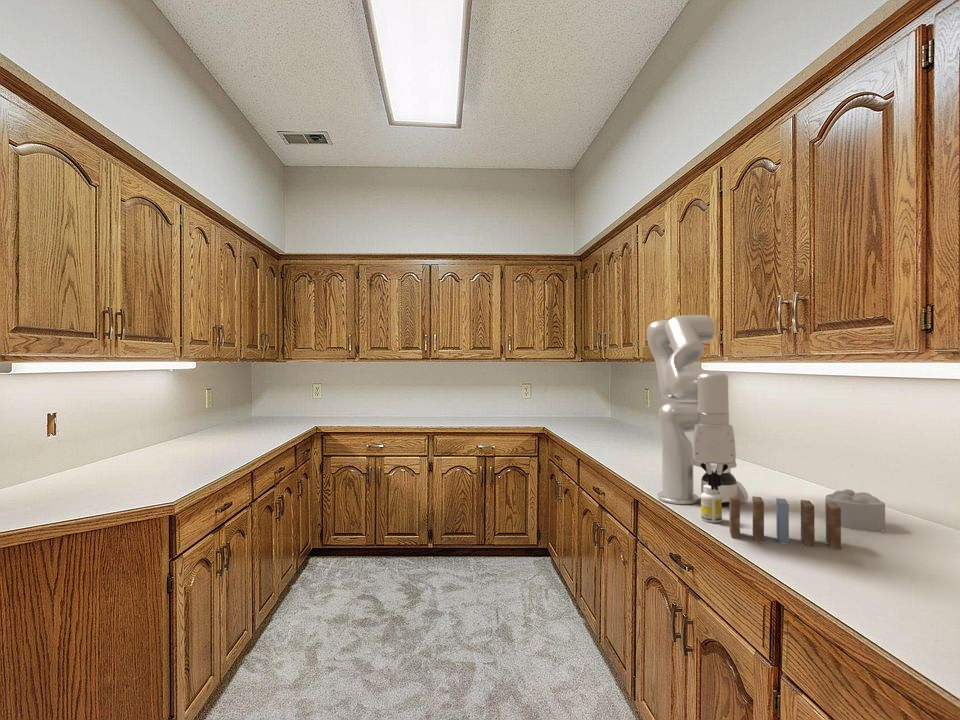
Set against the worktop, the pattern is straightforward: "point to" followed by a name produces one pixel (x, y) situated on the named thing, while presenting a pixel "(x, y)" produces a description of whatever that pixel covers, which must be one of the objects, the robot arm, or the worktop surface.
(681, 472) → the robot arm
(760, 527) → the domino
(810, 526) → the domino
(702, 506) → the supplement bottle
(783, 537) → the blue domino
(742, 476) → the worktop surface
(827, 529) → the domino
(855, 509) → the lumpy-topped squat cylinder
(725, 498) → the spread jar
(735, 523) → the domino
